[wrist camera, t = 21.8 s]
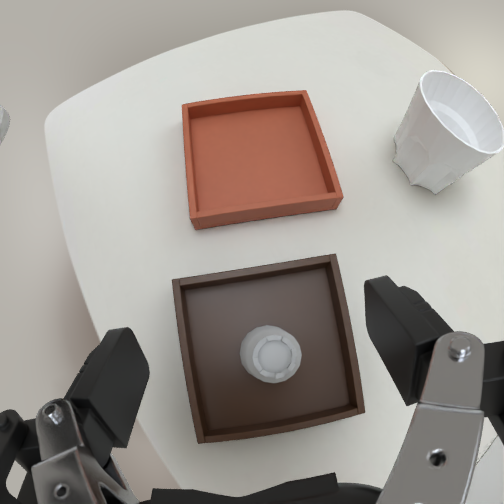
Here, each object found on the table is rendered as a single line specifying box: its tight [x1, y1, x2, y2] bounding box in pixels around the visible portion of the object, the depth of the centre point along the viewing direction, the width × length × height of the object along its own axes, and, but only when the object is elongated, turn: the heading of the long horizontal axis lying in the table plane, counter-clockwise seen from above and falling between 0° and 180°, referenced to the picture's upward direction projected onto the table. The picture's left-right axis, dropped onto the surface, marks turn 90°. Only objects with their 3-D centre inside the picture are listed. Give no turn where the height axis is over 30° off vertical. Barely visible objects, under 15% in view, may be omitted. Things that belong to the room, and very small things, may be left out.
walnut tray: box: [172, 254, 365, 444], centre depth 24 cm, size 13×13×3 cm
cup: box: [393, 70, 504, 195], centre depth 26 cm, size 10×10×10 cm
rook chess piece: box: [240, 325, 302, 383], centre depth 21 cm, size 4×4×8 cm
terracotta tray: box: [182, 90, 343, 230], centre depth 29 cm, size 13×13×3 cm
